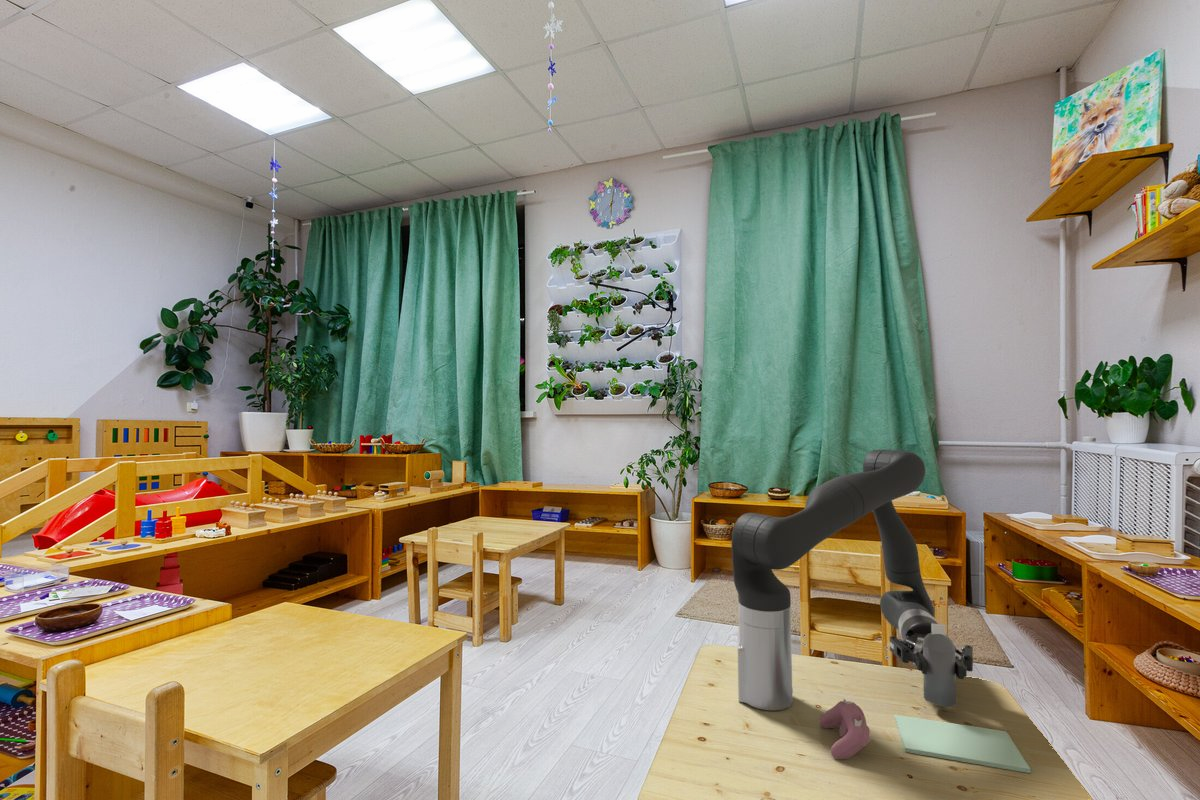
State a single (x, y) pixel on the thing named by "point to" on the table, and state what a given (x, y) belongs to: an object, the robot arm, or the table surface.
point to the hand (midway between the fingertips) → (943, 670)
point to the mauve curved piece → (847, 728)
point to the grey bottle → (939, 667)
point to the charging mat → (960, 743)
